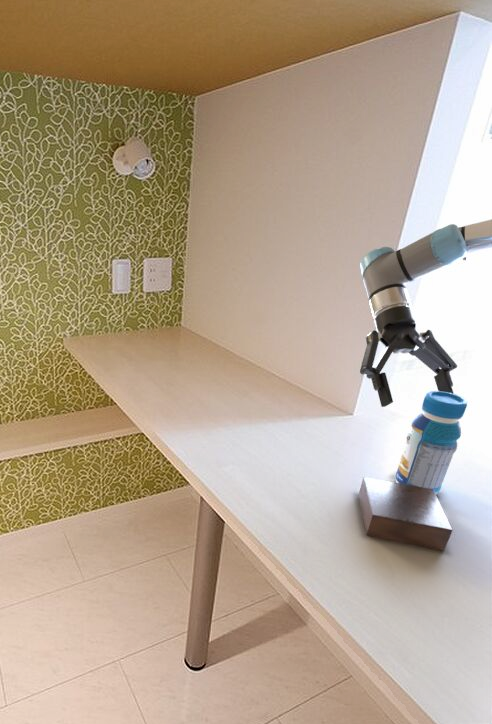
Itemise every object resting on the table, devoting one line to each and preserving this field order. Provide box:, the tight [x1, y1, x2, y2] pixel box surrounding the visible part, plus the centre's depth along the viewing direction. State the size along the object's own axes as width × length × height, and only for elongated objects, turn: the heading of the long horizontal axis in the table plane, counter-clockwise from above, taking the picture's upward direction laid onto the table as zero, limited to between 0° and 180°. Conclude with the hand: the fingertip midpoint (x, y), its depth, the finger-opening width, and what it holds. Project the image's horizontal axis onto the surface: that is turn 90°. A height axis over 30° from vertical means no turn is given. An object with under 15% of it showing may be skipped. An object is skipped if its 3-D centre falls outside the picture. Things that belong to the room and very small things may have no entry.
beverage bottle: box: [394, 390, 468, 495], centre depth 86 cm, size 8×8×20 cm
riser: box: [357, 476, 454, 552], centre depth 79 cm, size 12×12×4 cm
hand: (418, 403), depth 89 cm, fingers open, 13 cm apart
